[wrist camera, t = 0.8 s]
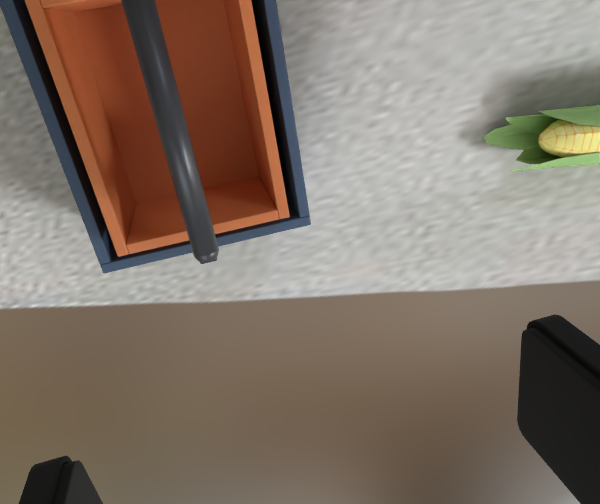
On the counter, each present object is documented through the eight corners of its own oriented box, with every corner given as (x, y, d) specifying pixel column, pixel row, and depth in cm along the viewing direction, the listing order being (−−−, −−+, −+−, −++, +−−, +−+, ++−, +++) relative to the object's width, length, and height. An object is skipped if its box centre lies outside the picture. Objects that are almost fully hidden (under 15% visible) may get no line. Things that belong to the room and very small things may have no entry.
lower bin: (28, -21, 27) (-16, -36, 21) (245, -55, 28) (263, -77, 22) (116, 229, 33) (103, 274, 27) (288, 191, 35) (311, 224, 29)
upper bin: (60, 2, 27) (-13, -14, 16) (228, -25, 28) (257, -55, 18) (130, 210, 32) (107, 295, 22) (267, 179, 33) (307, 246, 23)
